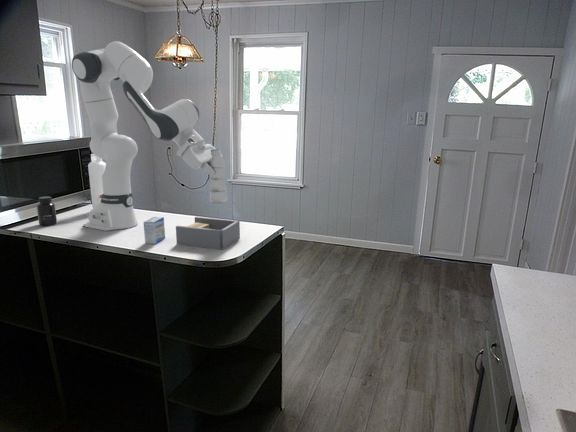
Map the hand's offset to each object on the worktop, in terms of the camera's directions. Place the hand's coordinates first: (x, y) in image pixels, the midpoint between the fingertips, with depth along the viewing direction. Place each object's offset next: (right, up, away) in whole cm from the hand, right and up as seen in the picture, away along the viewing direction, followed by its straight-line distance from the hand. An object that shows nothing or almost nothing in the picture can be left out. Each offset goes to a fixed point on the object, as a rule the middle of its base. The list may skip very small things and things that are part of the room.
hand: (218, 172), depth 150 cm
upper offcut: (-10, -23, +8) cm, 26 cm away
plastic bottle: (-1, -12, +4) cm, 12 cm away
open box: (-5, -26, +7) cm, 27 cm away
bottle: (-66, -14, +51) cm, 85 cm away
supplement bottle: (-79, -20, +27) cm, 86 cm away
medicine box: (-26, -26, +7) cm, 37 cm away
